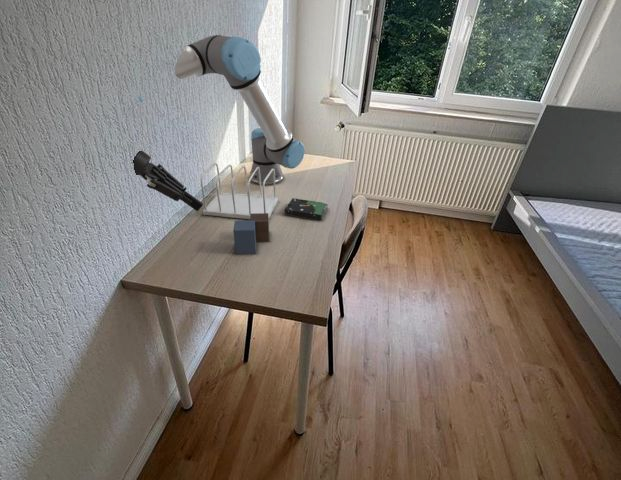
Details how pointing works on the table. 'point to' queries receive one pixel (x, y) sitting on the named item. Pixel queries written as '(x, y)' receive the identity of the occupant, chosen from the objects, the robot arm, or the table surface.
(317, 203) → the disk drive
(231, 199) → the file sorter
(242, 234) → the slate-blue block
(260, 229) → the walnut block
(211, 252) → the table surface
